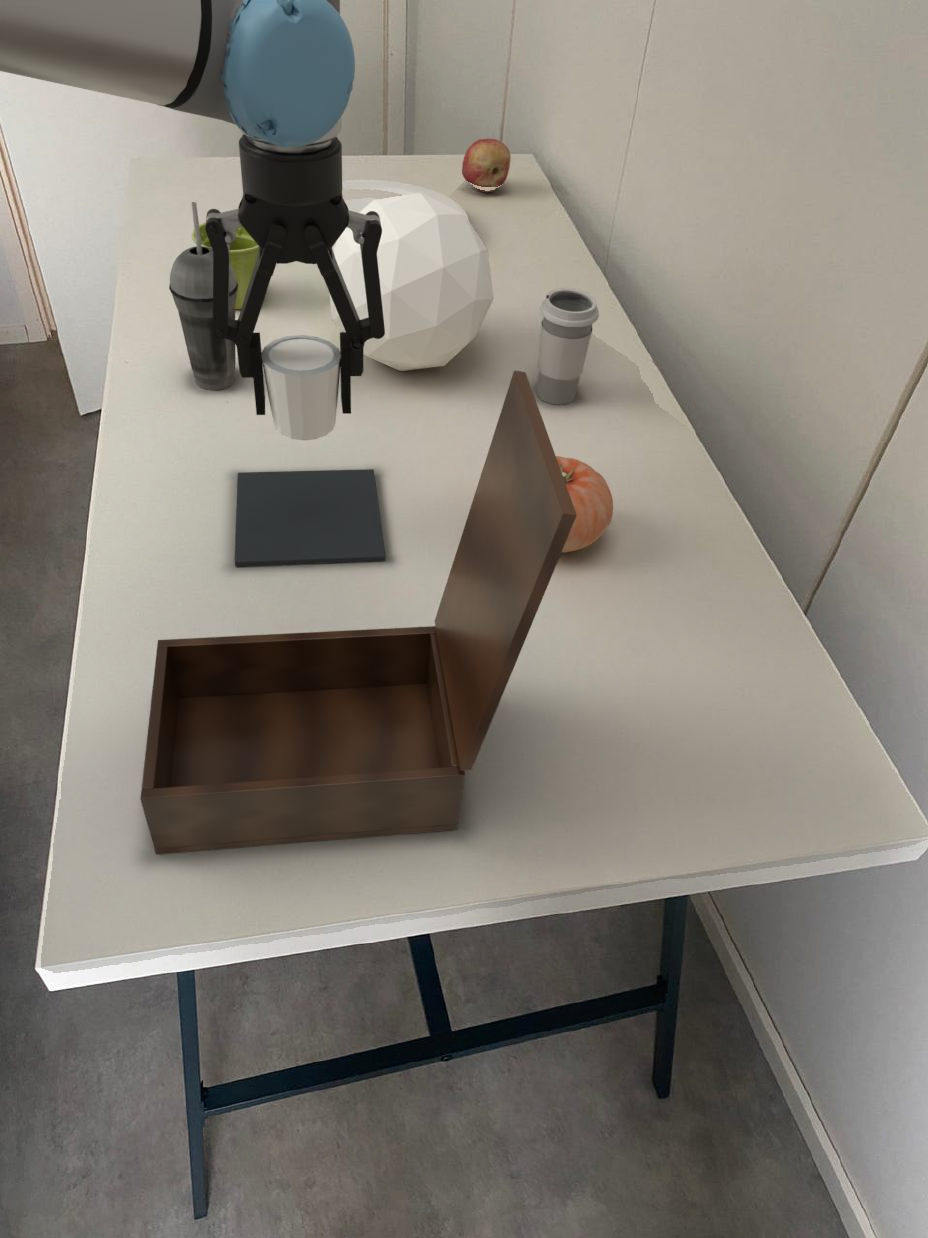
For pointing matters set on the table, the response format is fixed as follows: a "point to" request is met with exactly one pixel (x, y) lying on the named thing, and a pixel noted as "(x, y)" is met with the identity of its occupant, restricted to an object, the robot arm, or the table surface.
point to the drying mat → (307, 518)
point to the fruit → (486, 163)
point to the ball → (420, 281)
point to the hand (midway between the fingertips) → (303, 405)
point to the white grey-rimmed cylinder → (302, 385)
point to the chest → (299, 739)
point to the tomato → (586, 502)
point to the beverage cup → (203, 314)
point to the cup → (564, 342)
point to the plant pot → (237, 258)
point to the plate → (391, 186)
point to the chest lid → (501, 566)
